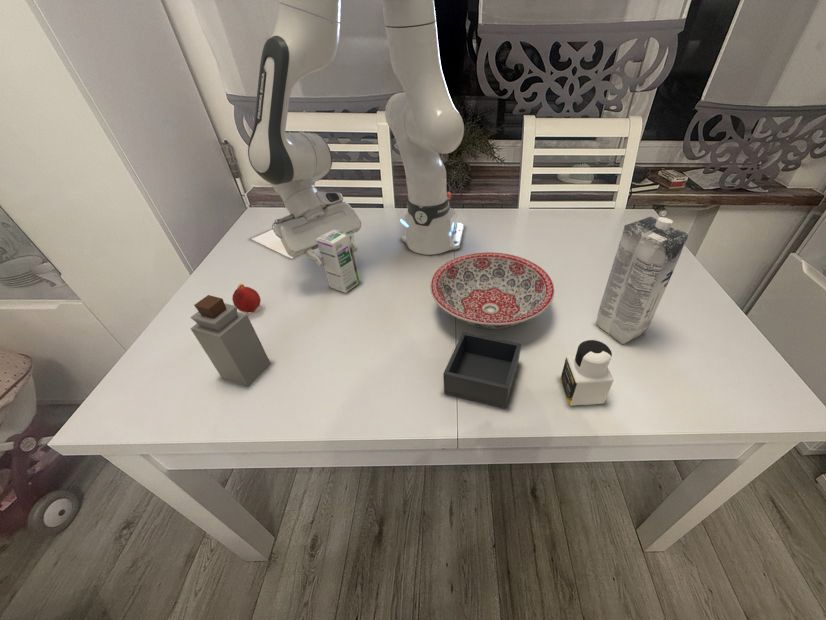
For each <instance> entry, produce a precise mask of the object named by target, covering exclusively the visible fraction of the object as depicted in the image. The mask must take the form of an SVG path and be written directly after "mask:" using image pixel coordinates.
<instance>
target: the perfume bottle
mask: <svg viewBox="0 0 826 620" xmlns="http://www.w3.org/2000/svg"><path fill="white" fill-rule="evenodd" d="M193 306H194V307H195V309H196V310H197V312H195V313H194V314H193V315H192V316H190V319H191V320H192V321H194V323H196V324H194V325H193V326H192V327H190V331H191V332H192V334H193V335H194V337H195V339H196V340H197V341H198V343H199V344H200V346H201V348H202V349H203V351H204V353H205V354H206V355H207V357H208V358H209V361H210V362H211V363H212V365H213V367H214V368H215V369H216V371H217V373H218V374H219V376H220V377H221V378H222V379H223V380H226V381H230V382H234V383H237V384H239V385H243V386H246V387H250V386H251V385H252V384H253V383H254V382H255V381H256V380H257V379H258V378H259V377H260V376H261V375H262V373H263V372H265V371H266V370H267V369H268V367H270V366H271V364H272V363H271V361H270V359H269V357H268V355H267V352H266V351H265V349H264V346H263V344H262V343H261V341H260V338H259V336H258V334H257V332H256V330H255V328H254V326H253V324H252V323H251V319H250V318H249V315H248V313H244V312H240V311H238V309H237V306H235V305H234V304H230V303H225V302H224V299H223V298H222V297H219V296H218V297H217V296H214V295H210V294H207V295H206V296H205V297H203V298H201V299H200V300H198V302H196V303H195V304H194V305H193Z"/></svg>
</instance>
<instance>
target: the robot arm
mask: <svg viewBox="0 0 826 620" xmlns="http://www.w3.org/2000/svg"><path fill="white" fill-rule="evenodd" d="M277 1H278V4H277V5H278V6H277V8H278V9H277V16H276V17H277V18H276V23H275V27H274V30H273V32H272V35H271V36H270V38H268V39H266V40H265V42H264V45H263V48H262V52H261V57H260V64H259V73H258V80H257V91H256V101H255V111H254V120H253V127H252V131H251V134H250V138H249V141H248V148H247V156H248V157H247V158H248V161H249V163H250V166H251V168H252V169H253V170H254V172H255V173H256V174H257V175H258V176H259V177H260V178H262V179H263V180H264V181H265V182H267V183H269V184H270V185H271V186H272V189H273V190H274V192H275V193H277V194H278V195H279V196H280V198H281V200H282V203H283V205H284V207H285V209H286V211H287V212H288V215H285V216H284V217H281V218H277V219H274V222H273V223H272V225H271V230H273V231H274V233H275V234H276V236H277V237H279V238H280V239H281V242H282V244H283V246H284V248H285V250H286V252H287V253H288V255H289V256H291V257H294V258H297V257H299V256H302V255H305V256H306V257H307V258H308V259H310V260H311V261H313V262H315V264H316V265H317V266H318V267H319V268H321V267H324V265H325V264H326V262H325V261H324V260H323V257H321V256H320V257H319V256H317V255H316V254H314V251H315V250H317V249H319V248H318V242H317V241H316V238H318V237H320V236H322V235H324V234H325V233H327V232H330V231H332V230H339V231H342V232H345V233H347V234H349V237H350V241H351V246H352V250H353V253H356V252H357V251H358V249H359V248H358V246H357V245H356V242H355V234H356V233H358V232H359V231H360V230H361V229H362V221H361V219H360V217H359V216H358V214H357V213H356V211H355V209H353V207H352V206H351V204H349V203H347V202H345V201H344V196H343V195H342V193H341V192H338V191H321V190H320V191H319V190H318V189H317V188H316V185H315V184H316V182H319V181H321V180H322V179H323V178H324V177H326V176H327V175H328V174H329V172H330V171H331V169H332V166H333V154H332V151H331V148H330V146H329V144H328V143H327V142H326V140H325V139H324V138H323V137H322V136H321V135H320V134H318V133H313V132H297V131H296V132H286V128H287V120H288V112H289V106H290V100H291V99H290V98H291V93H292V91H293V89H294V87H295V85H296V84H297V83H298V82H299V81H301V79H303V78H305V77H307V76H308V75H311V74H313V73H316V72H319V71H321V70H324V69H325V68H327V67H328V66H329V65H330V64H331V63H332V62H333V61H334V60H335V58H336V56H337V52H338V49H339V43H340V32H341V14H342V12H341V11H342V10H341V9H342V8H341V7H342V0H277ZM380 4H381V6H382V7H381V8H382V13H383V14H382V15H383V21H384V22H383V23H384V28H385V34H386V40H387V46H388V52H389V59H390V65H391V68H392V71H393V73H394V76H395V77H396V78H397V80H398V81H399V84H400V85H401V88H402V91H403V92H398V93H395V94H393V95H392V96H391V97H390V98H389V99H388V101H387V102H386V105H385V111H384V117H385V120H386V124H387V127H389V129H390V131H391V133H392V134H393V136H394V139H395V142H396V145H397V148H398V152H399V154H400V157H401V158H400V159H401V161H402V164H403V168H404V173H405V181H406V191H407V197H406V207H407V213H406V214H405V215H404V220H403V219H402V218H400V223H401V224H402V225H404V234H403V235H401V241H402V242H404V243H405V245H407V248H408V249H409V250H410V251H412V252H414V253H416V254H420V255H428V256H430V255H432V256H433V255H440V254H444V253H446V252H448V251H453V250H454V251H455V250H459V249H460V248H461V243H462V239H463V233H464V229H465V225H464V224H463V223H462V222H460V221H458V215H457V214H458V213H457V211H455V210H454V209H453V208H452V207H451V206H450V205H451V204H450V203H451V202H450V201H449V200H451V197H452V193H451V192H452V186H451V184H450V183H447V170H446V169H447V168H446V166H445V164H444V162H443V161H442V159H441V157H440V154H444V155H445V154H451V153H453V152H455V151H456V150H457V149H458V147H459V146H460V145H461V143H462V141H463V138H464V133H465V125H464V120H463V117H462V116H461V114H460V112H459V111H458V110H457V108H456V107H455V105H454V103H453V100H452V98H451V95H450V93H449V89H448V86H447V83H446V80H445V76H444V73H443V69H442V63H441V56H440V47H439V39H438V27H437V17H436V16H437V15H436V10H435V9H436V7H435V0H380Z"/></svg>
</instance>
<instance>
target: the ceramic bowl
mask: <svg viewBox="0 0 826 620" xmlns="http://www.w3.org/2000/svg"><path fill="white" fill-rule="evenodd" d="M429 288H430V294H431V296H432V298H433V300H434V302H435V303H436V305H437V306H438V307H440V309H442V310H443V311H444V312H445V313H447V314H448V315H451V316H452V317H454V318H456V319H458V320H459V321H461V322H463V323H465V324H467V325H470V326H473V327H476V328H480V329H486V330H487V329H488V330H501V329H507V328H511V327H514V326H517V325H519V324H522V323H524V322H527V321H530V320H532V319H534V318H536V317H537V316H540V315H541V314H542V313H544V312H545V311H546V310H547V309H548V308H549V306H550V305H551V304H552V302H553V300H554V297H555V285H554V282H553V280H552V277H551V276H550V275H549V274H548V273H547V272H546V270H545V269H543V268H542V267H540V266H539V265H538V264H536V263H535V262H533V261H530V260H529V259H526V258H524V257H522V256H518V255H513V254H509V253H505V252H504V253H503V252H494V251H493V252H491V251H490V252H488V251H487V252H485V251H484V252H475V253H468V254H464V255H461V256H460V255H459V256H457V257H455V258H453V259H450V260H448V261H447V262H445V263H444V264H442V265H441V266H439V267H438V268H437V270H436V271H435V272H434V273H433V275H432V277H431V280H430V285H429ZM489 307H491V308H494V309H495V311H493V312H487V311H486V308H489Z"/></svg>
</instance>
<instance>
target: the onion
mask: <svg viewBox="0 0 826 620" xmlns="http://www.w3.org/2000/svg"><path fill="white" fill-rule="evenodd" d="M231 298H232V303H233V305H234V306H237V310H238V311H239V312H241V313H246V314H249V313H255V311H256V310H257V309H259V307H260V304H261V301H262V300H261V296H260V294H259V293H258V291H257V290H255V289H254V288H252V287H250V286H245V284H243V283H239V284H238V286H237V288H236V289H235V290H234V292H233V294H232V297H231Z"/></svg>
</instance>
